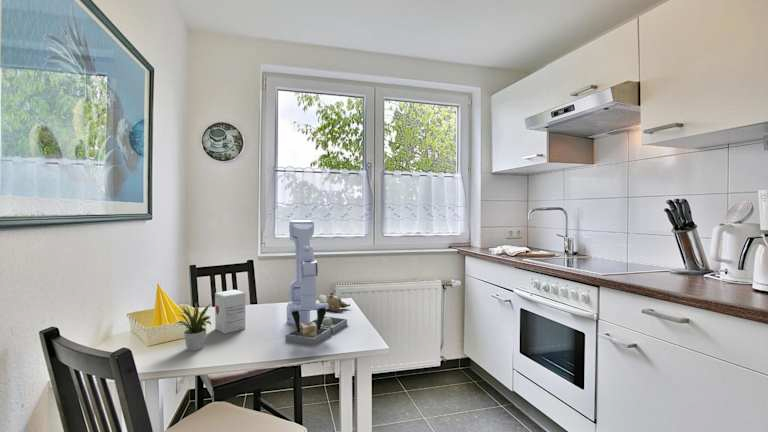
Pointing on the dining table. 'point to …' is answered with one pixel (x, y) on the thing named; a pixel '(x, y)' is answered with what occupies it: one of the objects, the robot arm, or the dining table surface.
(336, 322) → the tray far
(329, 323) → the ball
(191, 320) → the house plant
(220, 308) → the supplement box
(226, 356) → the dining table surface
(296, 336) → the tray near
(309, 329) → the letter cube
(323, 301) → the ceramic sculpture
